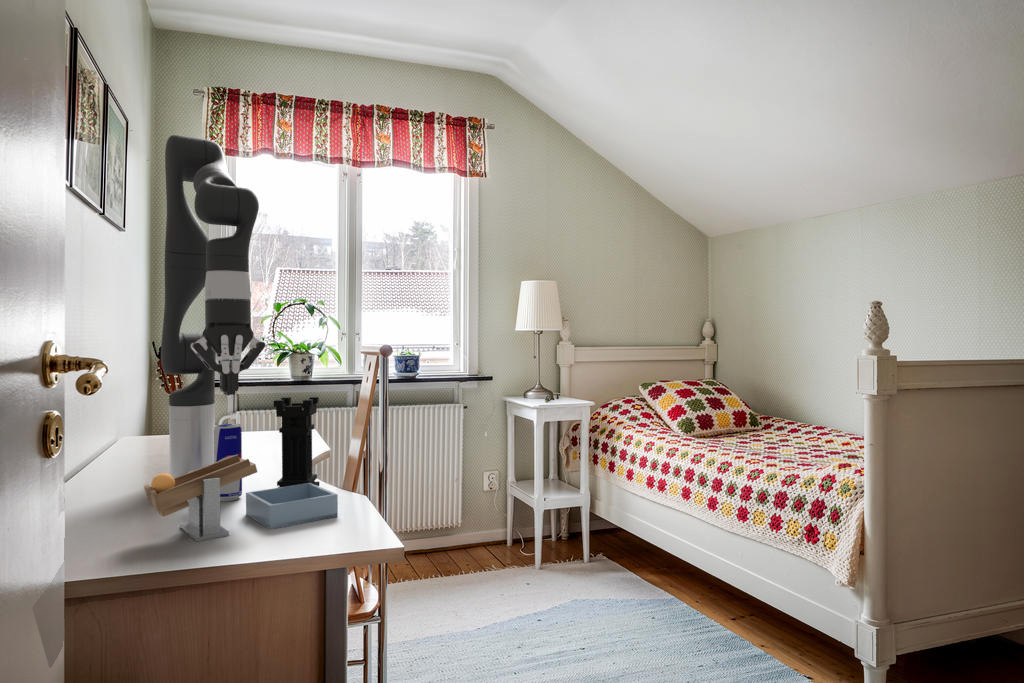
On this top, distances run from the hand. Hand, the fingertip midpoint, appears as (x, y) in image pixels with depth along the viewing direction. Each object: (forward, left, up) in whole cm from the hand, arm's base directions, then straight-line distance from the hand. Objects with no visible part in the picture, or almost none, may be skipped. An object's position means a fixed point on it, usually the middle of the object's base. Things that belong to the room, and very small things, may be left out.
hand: (229, 394), depth 120 cm
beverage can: (-15, +4, -22) cm, 27 cm away
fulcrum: (+5, -6, -22) cm, 24 cm away
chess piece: (-7, +15, -23) cm, 28 cm away
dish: (+5, +9, -22) cm, 25 cm away
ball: (+5, -12, -13) cm, 19 cm away
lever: (+3, -5, -16) cm, 17 cm away
